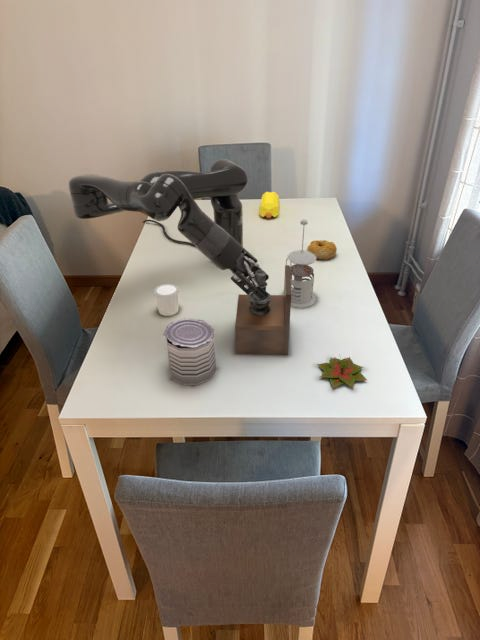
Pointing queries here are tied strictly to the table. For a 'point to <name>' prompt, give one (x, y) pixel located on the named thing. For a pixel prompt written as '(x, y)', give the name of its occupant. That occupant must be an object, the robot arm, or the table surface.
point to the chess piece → (256, 303)
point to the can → (190, 351)
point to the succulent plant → (341, 371)
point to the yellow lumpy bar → (269, 205)
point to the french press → (302, 289)
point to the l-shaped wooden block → (264, 324)
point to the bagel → (322, 249)
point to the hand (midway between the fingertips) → (266, 288)
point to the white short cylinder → (167, 299)
